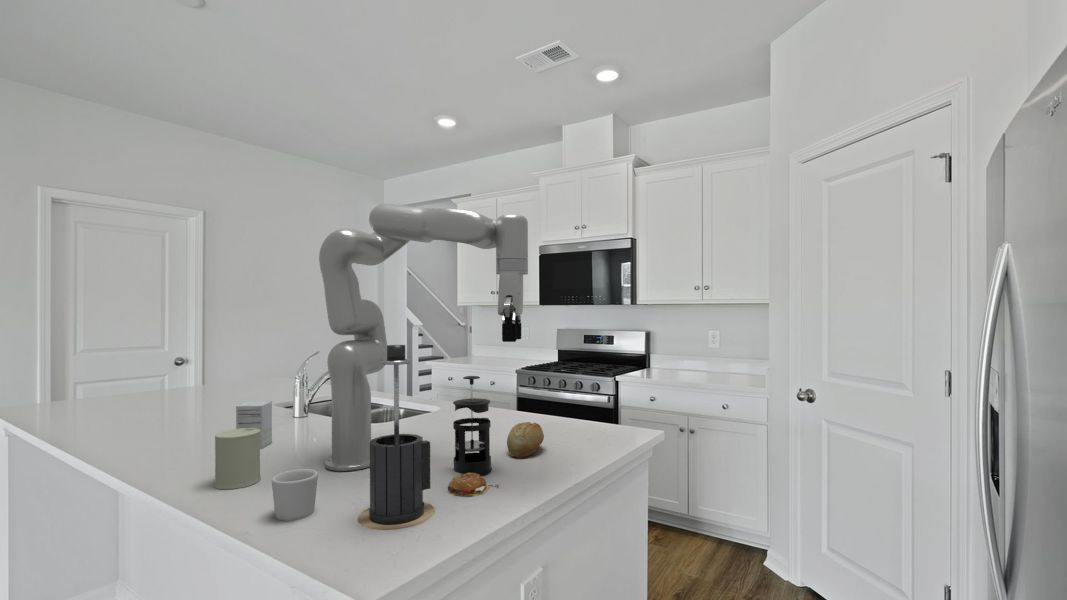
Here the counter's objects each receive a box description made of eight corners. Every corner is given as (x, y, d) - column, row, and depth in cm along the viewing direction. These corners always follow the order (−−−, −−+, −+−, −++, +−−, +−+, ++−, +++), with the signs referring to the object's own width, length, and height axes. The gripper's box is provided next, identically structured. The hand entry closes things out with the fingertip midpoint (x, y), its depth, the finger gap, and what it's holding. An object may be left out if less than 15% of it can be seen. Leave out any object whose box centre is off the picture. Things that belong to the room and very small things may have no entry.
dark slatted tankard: (361, 512, 95) (360, 439, 96) (417, 498, 103) (417, 429, 103) (381, 530, 88) (381, 450, 88) (440, 513, 95) (440, 439, 95)
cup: (287, 505, 102) (287, 465, 102) (328, 503, 103) (328, 463, 103) (263, 527, 91) (263, 483, 91) (309, 525, 92) (309, 481, 92)
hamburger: (499, 507, 101) (498, 476, 101) (432, 503, 103) (432, 474, 103) (514, 483, 114) (513, 456, 115) (455, 480, 117) (454, 454, 117)
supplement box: (246, 443, 151) (246, 401, 152) (272, 442, 152) (272, 400, 152) (235, 450, 144) (235, 405, 144) (262, 449, 145) (262, 405, 145)
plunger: (375, 458, 95) (374, 345, 96) (405, 452, 99) (404, 343, 100) (387, 466, 91) (387, 346, 91) (418, 459, 94) (417, 345, 95)
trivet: (346, 516, 96) (346, 512, 96) (415, 498, 104) (415, 494, 104) (374, 542, 85) (374, 537, 85) (448, 519, 93) (448, 515, 93)
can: (269, 478, 119) (269, 427, 119) (235, 491, 110) (235, 436, 110) (240, 474, 122) (240, 424, 122) (204, 487, 113) (204, 433, 113)
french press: (476, 480, 115) (475, 379, 116) (443, 475, 119) (442, 377, 120) (502, 466, 126) (501, 374, 126) (470, 461, 130) (470, 372, 130)
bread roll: (548, 445, 145) (547, 417, 145) (537, 460, 130) (537, 429, 131) (515, 444, 147) (515, 416, 147) (502, 459, 132) (501, 428, 133)
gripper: (501, 271, 128) (501, 338, 128) (489, 264, 111) (489, 342, 110) (531, 270, 127) (531, 338, 127) (523, 264, 110) (523, 342, 110)
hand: (512, 340), depth 119 cm, fingers open, 9 cm apart
